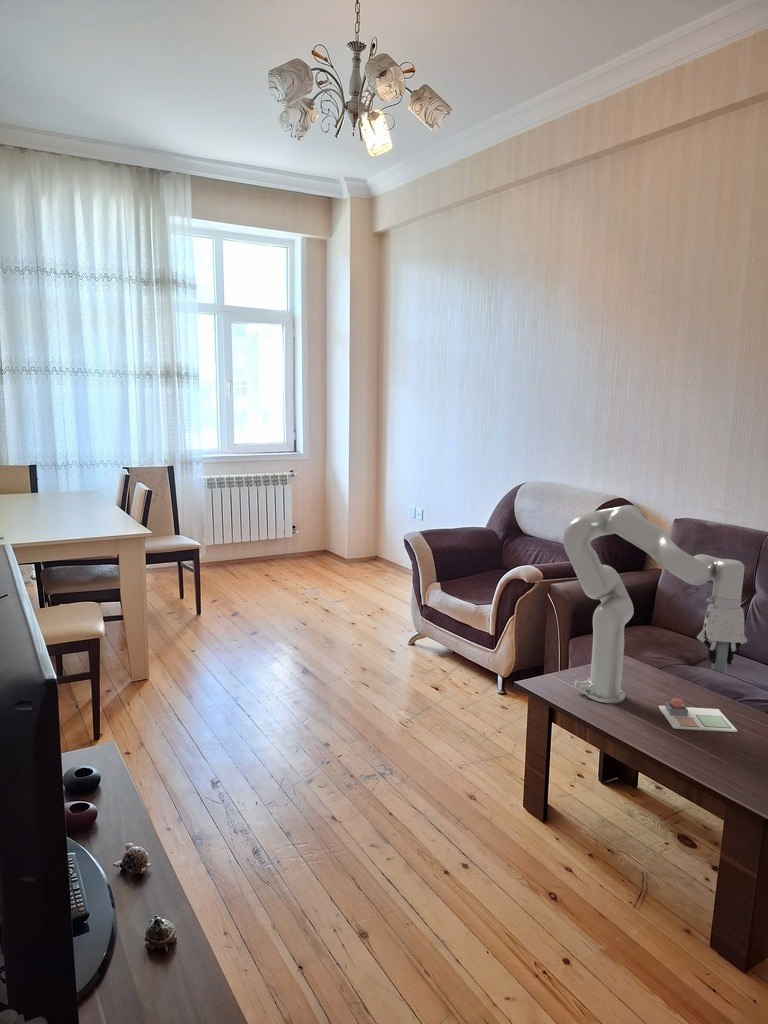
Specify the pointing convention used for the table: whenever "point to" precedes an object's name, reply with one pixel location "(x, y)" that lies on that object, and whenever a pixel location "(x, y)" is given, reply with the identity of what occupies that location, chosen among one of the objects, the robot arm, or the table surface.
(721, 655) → the cylinder
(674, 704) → the button
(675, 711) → the picture board
